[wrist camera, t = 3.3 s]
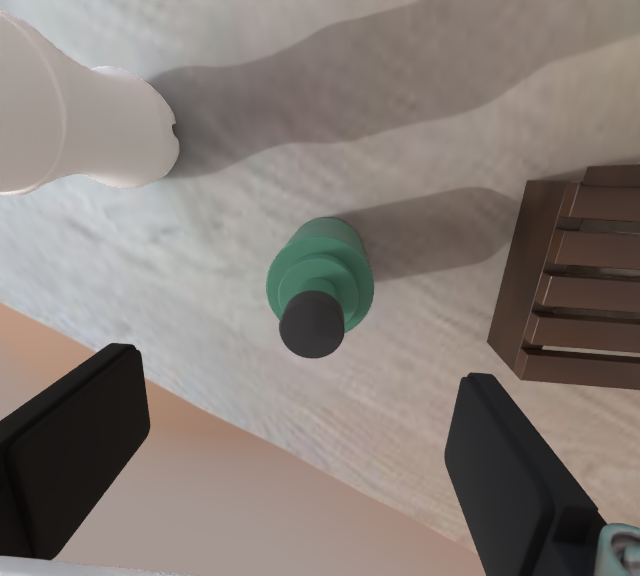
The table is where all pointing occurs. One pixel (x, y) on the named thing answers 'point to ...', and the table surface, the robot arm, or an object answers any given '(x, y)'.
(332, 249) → the green bottle
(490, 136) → the table surface
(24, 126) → the water bottle
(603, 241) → the brown wooden slatted bench
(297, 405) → the table surface
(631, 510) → the table surface
